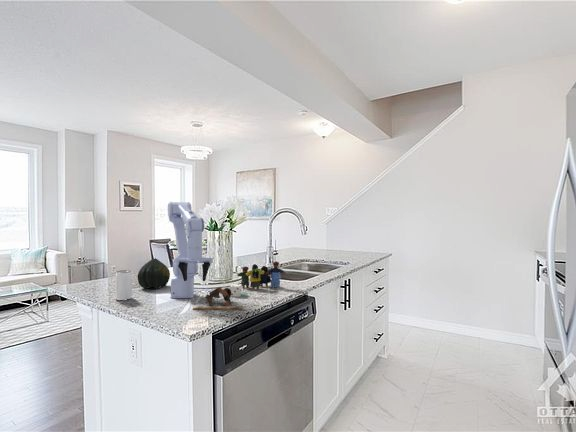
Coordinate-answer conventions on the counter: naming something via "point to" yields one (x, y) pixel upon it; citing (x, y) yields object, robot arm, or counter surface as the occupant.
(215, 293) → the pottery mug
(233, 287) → the die
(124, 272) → the can
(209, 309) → the counting strip
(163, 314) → the counter surface
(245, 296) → the felt mat
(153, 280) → the squash
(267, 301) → the counter surface
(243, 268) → the doll family
